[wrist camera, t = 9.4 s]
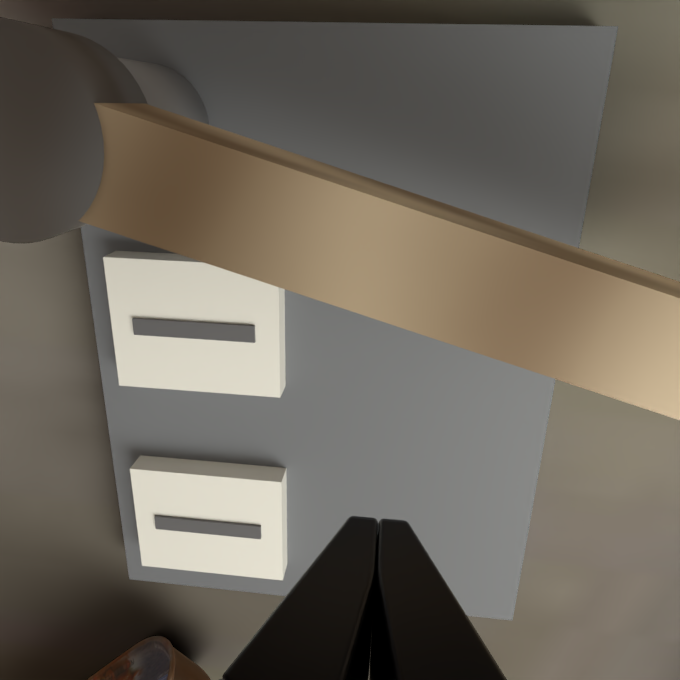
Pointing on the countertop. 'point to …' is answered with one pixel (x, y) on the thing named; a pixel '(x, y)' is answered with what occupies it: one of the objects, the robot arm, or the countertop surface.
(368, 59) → the label board
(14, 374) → the countertop surface
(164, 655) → the tin
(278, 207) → the bar
